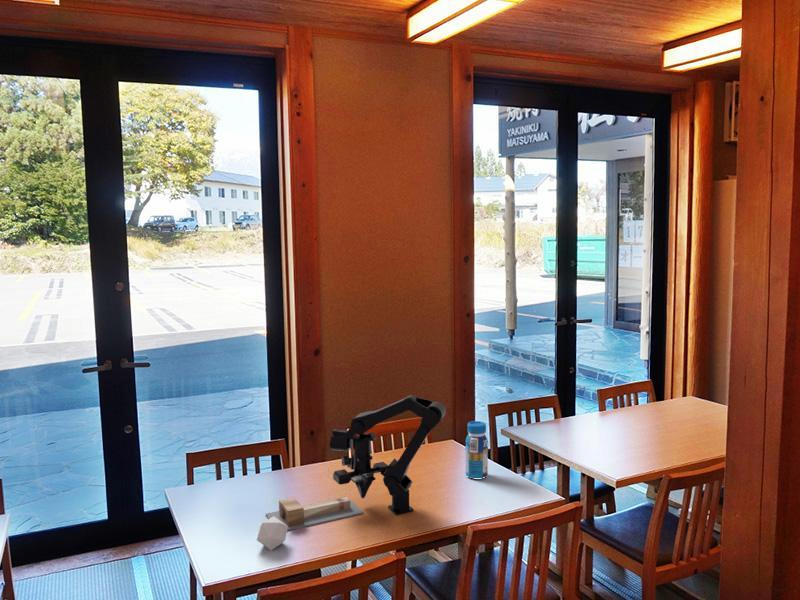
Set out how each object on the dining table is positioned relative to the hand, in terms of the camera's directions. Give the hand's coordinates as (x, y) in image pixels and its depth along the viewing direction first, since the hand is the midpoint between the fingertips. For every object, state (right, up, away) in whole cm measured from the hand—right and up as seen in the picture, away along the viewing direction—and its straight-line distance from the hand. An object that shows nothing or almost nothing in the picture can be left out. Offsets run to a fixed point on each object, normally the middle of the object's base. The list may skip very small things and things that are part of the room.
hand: (362, 497), depth 218 cm
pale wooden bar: (-12, -3, -6) cm, 14 cm away
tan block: (-22, -3, -11) cm, 25 cm away
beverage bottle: (+41, 0, +25) cm, 48 cm away
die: (-25, -6, -27) cm, 37 cm away
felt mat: (-15, -3, -6) cm, 17 cm away
